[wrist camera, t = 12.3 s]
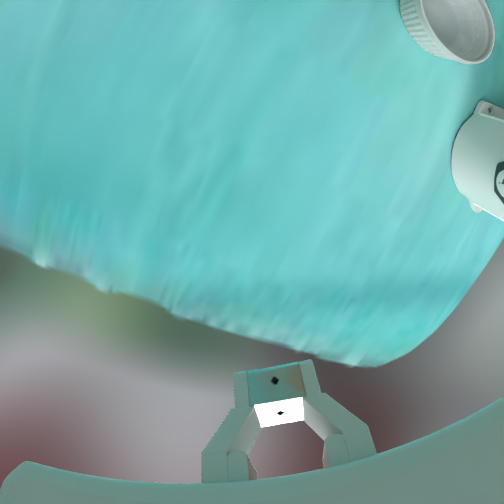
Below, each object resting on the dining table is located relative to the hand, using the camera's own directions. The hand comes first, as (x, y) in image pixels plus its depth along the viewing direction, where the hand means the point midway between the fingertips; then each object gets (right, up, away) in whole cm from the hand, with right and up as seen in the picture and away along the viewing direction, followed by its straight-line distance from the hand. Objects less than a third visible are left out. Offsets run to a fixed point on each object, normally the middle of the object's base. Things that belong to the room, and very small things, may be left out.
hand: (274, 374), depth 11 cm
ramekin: (+23, +36, +15) cm, 45 cm away
